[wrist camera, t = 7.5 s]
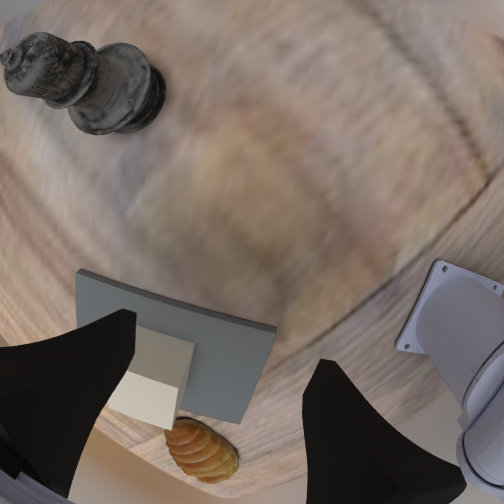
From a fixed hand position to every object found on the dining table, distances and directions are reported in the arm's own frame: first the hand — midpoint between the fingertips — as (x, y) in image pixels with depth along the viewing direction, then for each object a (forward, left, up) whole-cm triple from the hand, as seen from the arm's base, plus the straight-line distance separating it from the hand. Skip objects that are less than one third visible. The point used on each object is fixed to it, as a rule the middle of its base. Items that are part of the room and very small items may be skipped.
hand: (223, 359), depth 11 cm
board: (+5, +9, -10) cm, 14 cm away
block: (+5, +9, -9) cm, 14 cm away
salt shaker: (+11, -10, -10) cm, 17 cm away
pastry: (-1, +22, -10) cm, 24 cm away
